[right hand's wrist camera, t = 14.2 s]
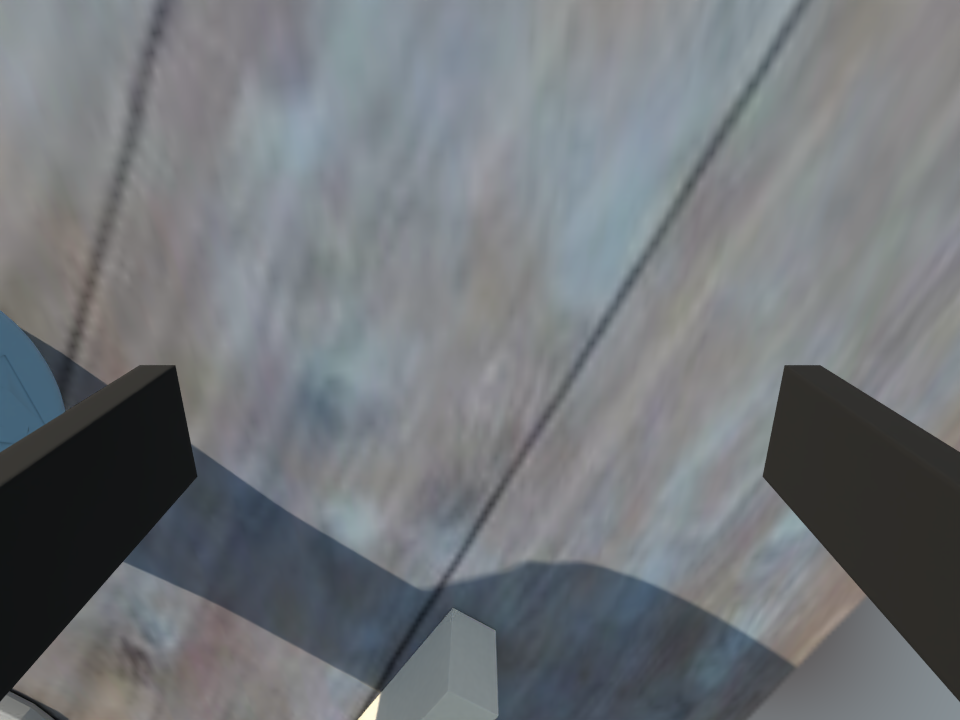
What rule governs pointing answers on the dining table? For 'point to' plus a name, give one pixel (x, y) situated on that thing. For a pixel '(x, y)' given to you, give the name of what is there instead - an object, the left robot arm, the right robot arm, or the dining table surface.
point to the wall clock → (20, 709)
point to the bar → (445, 676)
